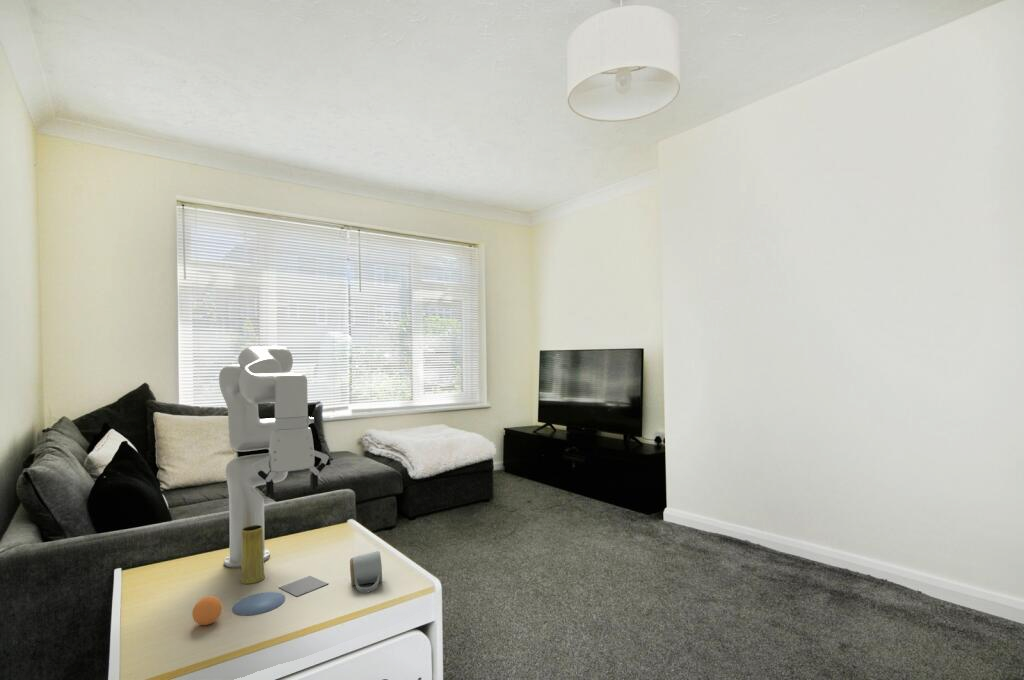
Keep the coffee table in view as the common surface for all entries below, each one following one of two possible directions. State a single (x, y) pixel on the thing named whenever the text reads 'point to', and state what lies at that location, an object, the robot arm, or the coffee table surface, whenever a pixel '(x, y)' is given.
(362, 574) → the grey rounded holder
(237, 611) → the disc
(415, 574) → the coffee table surface
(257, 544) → the vase
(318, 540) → the coffee table surface
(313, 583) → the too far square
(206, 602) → the ball
